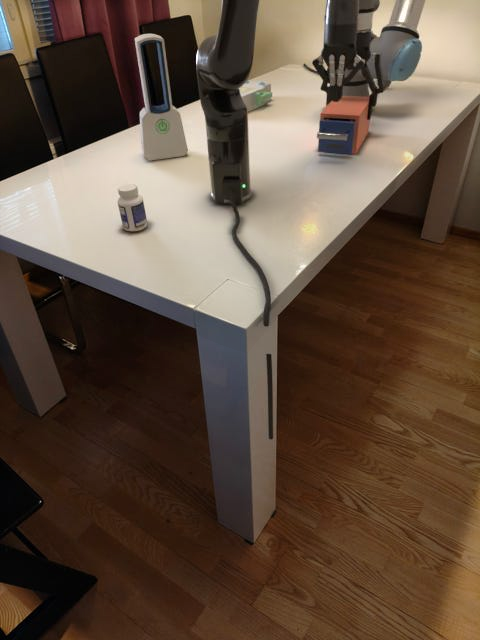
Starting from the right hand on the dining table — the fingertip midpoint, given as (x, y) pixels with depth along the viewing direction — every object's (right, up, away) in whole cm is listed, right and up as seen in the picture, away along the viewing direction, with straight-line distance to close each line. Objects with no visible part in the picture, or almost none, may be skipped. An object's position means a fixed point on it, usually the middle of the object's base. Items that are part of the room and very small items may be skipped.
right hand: (349, 117), depth 143 cm
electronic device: (-54, -12, -2) cm, 55 cm away
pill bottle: (-55, -40, -38) cm, 78 cm away
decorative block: (-33, +18, +34) cm, 51 cm away
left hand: (-8, -5, -21) cm, 23 cm away
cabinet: (-2, -7, -1) cm, 8 cm away
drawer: (-4, -11, -6) cm, 13 cm away
